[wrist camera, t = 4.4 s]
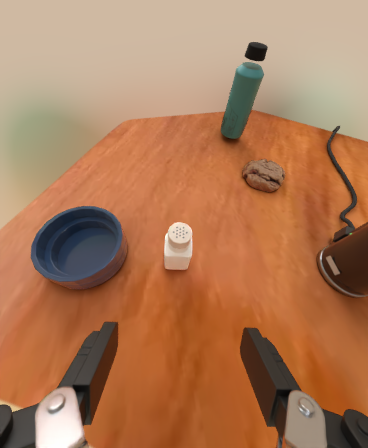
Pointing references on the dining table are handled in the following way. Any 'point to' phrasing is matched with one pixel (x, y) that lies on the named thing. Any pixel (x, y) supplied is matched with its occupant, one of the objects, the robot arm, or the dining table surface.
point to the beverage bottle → (243, 92)
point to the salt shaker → (178, 247)
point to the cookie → (263, 175)
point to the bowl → (80, 247)
